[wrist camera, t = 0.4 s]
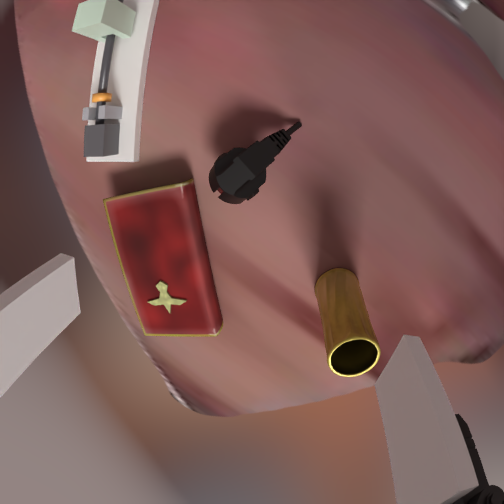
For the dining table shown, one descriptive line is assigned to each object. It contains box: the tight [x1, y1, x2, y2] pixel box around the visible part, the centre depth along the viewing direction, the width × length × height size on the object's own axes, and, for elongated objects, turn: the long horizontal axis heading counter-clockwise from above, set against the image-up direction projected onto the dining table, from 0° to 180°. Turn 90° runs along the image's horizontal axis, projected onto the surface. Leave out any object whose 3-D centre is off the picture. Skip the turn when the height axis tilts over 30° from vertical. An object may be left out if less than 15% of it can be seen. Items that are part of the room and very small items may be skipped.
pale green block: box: [72, 0, 136, 43], centre depth 23 cm, size 4×4×7 cm
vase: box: [315, 268, 380, 377], centre depth 32 cm, size 6×6×14 cm
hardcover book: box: [103, 179, 223, 336], centre depth 39 cm, size 12×21×4 cm, turn 8°
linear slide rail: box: [82, 0, 159, 162], centre depth 28 cm, size 28×8×6 cm, turn 174°
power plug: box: [209, 122, 302, 204], centre depth 32 cm, size 6×8×12 cm
